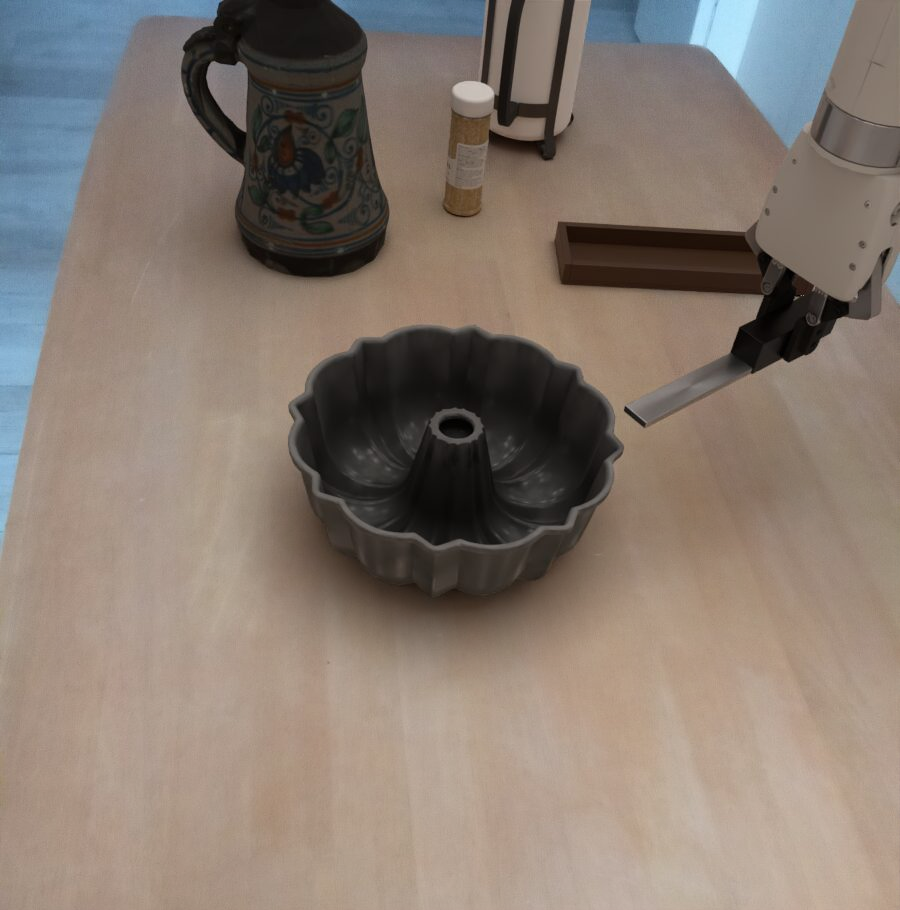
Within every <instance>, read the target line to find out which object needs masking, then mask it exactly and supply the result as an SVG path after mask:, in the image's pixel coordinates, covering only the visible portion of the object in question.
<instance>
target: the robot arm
mask: <svg viewBox="0 0 900 910" xmlns="http://www.w3.org/2000/svg"><path fill="white" fill-rule="evenodd" d="M847 21H848V22H847V25H846V27H845V30H844V32H843V36H842V38H841V41H840V44H839V46H838V50H837V52H836V54H835V58H834V60H833V64H832V66H831V69H830V71H829V75H828V77H827V80H826V83H825V87H824V89H823V92H822V93H821V97H820V100H819V102H818V105H817V108H816V111H815V114H814V116H813V119H811V120H808V121H807V122H806V123H805V124H804V125H803V127H802V128H801V130H800V132H799V133H798V135H797V136H796V137H795V138H794V139H795V140H794V141H793V143H792V144H791V146H790V148H789V150H788V151H787V153H786V155H785V157H784V158H783V161H782V163H781V164H780V166H779V169H778V171H777V173H776V174H775V176H774V179H773V181H772V184H771V185H770V188H769V191H768V193H767V195H766V198H765V201H764V202H763V206H762V209H761V212H760V214H759V217H758V219H757V220H756V221H755V222H754V223H753V224H752V225H751V226H749V228H748V229H746V231H745V232H746V233H745V239H746V241H747V242H748V244H749V245H750V247H751V249H752V250H753V252H754V253H755V255H757V256H758V257H757V260H758V264H759V267H760V270H761V274H762V277H763V281H762V283H761V290H762V292H763V293H764V294H763V297H762V300H761V301H760V302H761V303H760V304H759V305H760V306H759V307H758V310H757V313H756V316H755V319H757V318H759V317H761V316H763V315H765V314H767V313H769V312H771V311H773V310H775V309H777V308H780V307H782V306H784V305H786V304H788V303H790V302H792V301H794V300H795V298H796V296H795V295H796V289H797V288H796V287H794V286H793V285H792V284H793V283H794V281H795V279H796V277H797V275H799V276H801V277H802V278H804V279H805V280H807V281H808V282H810V283H811V284H813V285H814V289H813V291H814V293H813V296H812V298H811V301H810V304H809V307H808V310H807V313H806V315H805V316H803V317H801V318H799V319H798V320H797V321H796V323H795V325H794V328H793V332H792V334H791V337H790V339H789V342H788V344H787V346H786V349H785V351H784V354H783V359H782V360H783V361H784V362H785V363H787V364H789V363H791V362H793V361H795V360H797V359H799V358H801V357H803V356H809V355H811V354H812V353H814V351H815V350H816V349H817V348H818V346H819V343H820V342H821V339H822V338H821V337H822V335H823V332H824V330H825V328H826V326H827V323H828V321H831V320H835V319H837V320H838V319H839V320H840V319H842V318H848V319H851V320H852V319H853V320H859V321H860V320H861V321H869V320H871V319H873V318H875V317H877V316H879V315H880V314H881V312H882V301H883V300H882V299H883V294H882V293H883V285H884V284H885V283H886V282H887V280H889V277H890V276H891V273H892V272H893V269H894V267H895V264H896V262H897V260H898V258H899V255H900V0H855V2H854V4H853V8H852V11H851V14H850V17H849V18H848V20H847Z"/></svg>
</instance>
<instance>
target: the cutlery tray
mask: <svg viewBox="0 0 900 910" xmlns="http://www.w3.org/2000/svg"><path fill="white" fill-rule="evenodd" d="M745 233H746V231H734V230H719V229H699V228H698V229H697V228H682V227H665V226H664V227H663V226H648V225H632V224H631V225H629V224H613V223H612V224H611V223H596V222H579V221H577V222H575V221H559V220H558V221H557V224H556V230H555V236H554V246H555V254H556V258H557V265H558V272H559V277H560V284H561V285H573V286H574V285H576V286H577V285H578V286H593V287H594V286H595V287H613V288H614V287H616V288H617V287H618V288H632V289H633V288H635V289H651V290H653V289H654V290H671V291H690V292H691V291H693V292H712V293H727V294H728V293H729V294H730V293H731V294H750V295H751V294H752V295H764V293H763V292H762V290H761V283H762V281H763V277H762V274H761V270H760V267H759V264H758V260H757V257H758V256H757V255H755V253H754V252H753V250H752V249H751V247H750V245H749V244H748V242H747V241H746V239H745ZM792 285H793V286H794V287H796V288H797V289H796V295H802V296H803V295H806V294H808V293H810V292H812V291H814V289H815V286H814V285H813V284H811V283H810V282H808V281H807V280H805V279H804V278H802V277H801V276H799V275H797V277H796V279H795V281H794V283H793V284H792ZM802 296H801V297H802Z"/></svg>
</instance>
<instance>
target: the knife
mask: <svg viewBox="0 0 900 910" xmlns="http://www.w3.org/2000/svg"><path fill="white" fill-rule="evenodd" d="M813 293H814V290H812V292H810V293H808V294H806V295H804V296H799V297H798V298H796V299H794V300H793V301H792V302H790V303H788V304H786V305H784V306H782V307H780V308H777V309H775V310H773V311H771V312H769V313H767V314H765V315H763V316H761V317H759V318H757V319H756V318H755V319H753V320H751V321H749V322H748V321H747V322H746V323H744V324H741V325H740V326H739V327H738V329H737V332H736V334H735V338H734V340H733V344H732V346H731V349H730V352H729V353H726V354H725V355H723V356H721V357H719V358H716V359H715V360H713V361H711V362H708V363H707V364H705V365H703V366H701V367H699V368H696V369H695V370H693V371H690V372H689V373H687V374H685V375H683V376H681V377H679V378H677V379H675V380H673V381H671V382H669V383H667V384H665V385H662V386H661V387H659V388H657V389H655V390H653V391H651V392H649V393H647V394H645V395H643V396H640V397H639V398H637V399H635V400H633V401H631V402H629V403H627V404H625V405H624V408H623V412H624V413H625V414H627V415H628V416H629V417H630V418H631V419H632V420H634V422H636V423H637V424H638V425H640V426H641V427H642V428H643V429H647V428H650V427H651V426H653V425H655V424H656V423H659V422H661V421H663V420H664V419H667V418H669V417H670V416H673V415H674V414H676V413H678V412H680V411H681V410H682V411H683V410H684V409H685V408H687V407H689V406H691V405H694V404H696V403H697V402H700V401H702V400H703V399H705V398H707V397H709V396H710V395H712V394H715V393H716V392H718V391H720V390H723V389H724V388H726V387H728V386H730V385H732V384H734V383H736V382H738V381H740V380H741V379H744V378H745V377H747V376H749V375H754V374H755V373H758V372H760V371H761V370H763V369H765V368H768V367H769V366H771V365H773V364H775V363H777V362H778V361H781V360H783V354H784V351H785V349H786V346H787V344H788V342H789V339H790V337H791V334H792V332H793V328H794V325H795V323H796V321H797V320H798V319H799V318H801V317H803V316H805V315H806V313H807V310H808V307H809V304H810V301H811V298H812V296H813ZM837 320H838V319H835V320H831V321H828V323H827V326H826V328H825V330H824V332H823V335H822V337H821V339H823V338H825V337H827V336H829V335H830V334H832V331H833V329H834V328H835V327H834V326H835V325H836V323H837Z"/></svg>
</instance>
